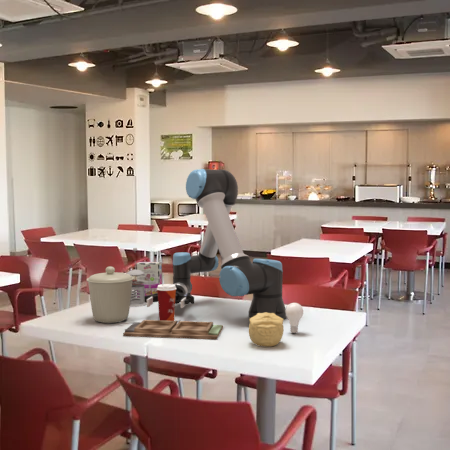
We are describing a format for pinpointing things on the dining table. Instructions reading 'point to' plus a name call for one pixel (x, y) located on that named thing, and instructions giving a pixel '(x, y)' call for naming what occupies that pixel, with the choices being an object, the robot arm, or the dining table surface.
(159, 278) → the candy bar box
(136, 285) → the french press
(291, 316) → the lightbulb
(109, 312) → the canister
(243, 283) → the robot arm
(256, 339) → the sculpture
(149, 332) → the wooden compartment tray
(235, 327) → the dining table surface
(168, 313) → the paper cup
